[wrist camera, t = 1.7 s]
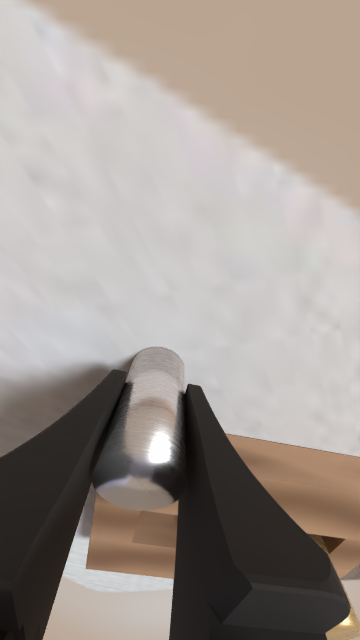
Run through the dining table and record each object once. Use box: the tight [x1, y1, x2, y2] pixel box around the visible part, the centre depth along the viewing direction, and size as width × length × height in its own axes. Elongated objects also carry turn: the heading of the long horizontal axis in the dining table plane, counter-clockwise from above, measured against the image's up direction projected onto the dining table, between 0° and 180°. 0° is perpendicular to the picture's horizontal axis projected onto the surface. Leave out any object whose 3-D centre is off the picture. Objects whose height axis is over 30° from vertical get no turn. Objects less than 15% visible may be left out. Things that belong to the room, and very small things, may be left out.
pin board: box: [86, 434, 360, 579], centre depth 16 cm, size 14×20×2 cm
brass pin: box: [307, 533, 360, 640], centre depth 15 cm, size 3×3×6 cm
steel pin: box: [92, 347, 186, 510], centre depth 10 cm, size 3×3×6 cm
